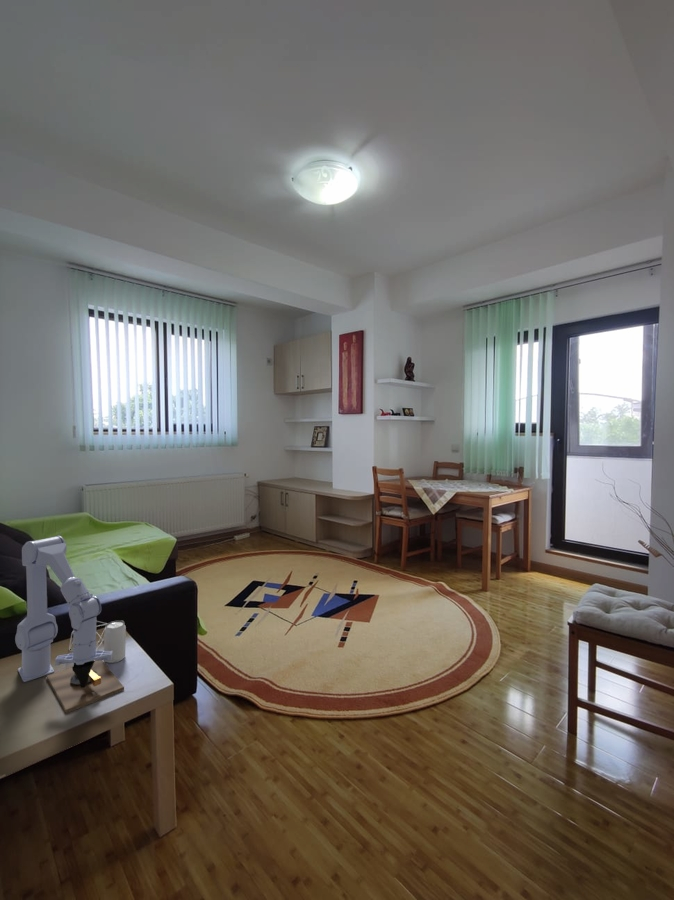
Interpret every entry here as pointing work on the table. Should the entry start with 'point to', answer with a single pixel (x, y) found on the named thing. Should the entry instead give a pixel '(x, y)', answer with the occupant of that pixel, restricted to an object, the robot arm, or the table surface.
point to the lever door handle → (92, 678)
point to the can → (115, 640)
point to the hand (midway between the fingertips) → (84, 685)
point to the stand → (78, 696)
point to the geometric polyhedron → (96, 632)
